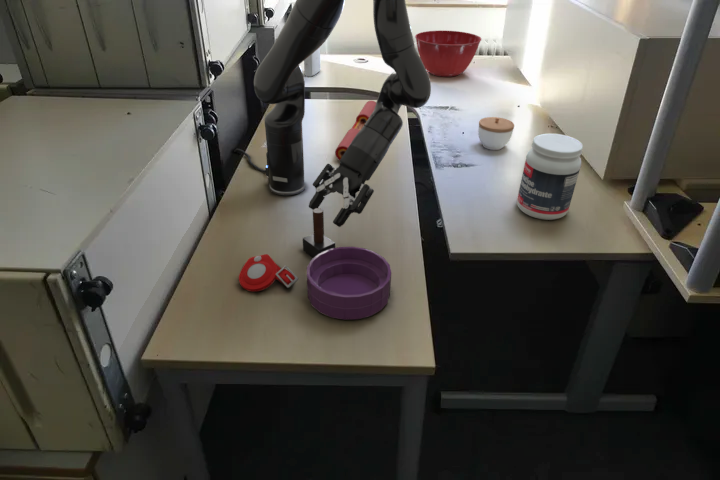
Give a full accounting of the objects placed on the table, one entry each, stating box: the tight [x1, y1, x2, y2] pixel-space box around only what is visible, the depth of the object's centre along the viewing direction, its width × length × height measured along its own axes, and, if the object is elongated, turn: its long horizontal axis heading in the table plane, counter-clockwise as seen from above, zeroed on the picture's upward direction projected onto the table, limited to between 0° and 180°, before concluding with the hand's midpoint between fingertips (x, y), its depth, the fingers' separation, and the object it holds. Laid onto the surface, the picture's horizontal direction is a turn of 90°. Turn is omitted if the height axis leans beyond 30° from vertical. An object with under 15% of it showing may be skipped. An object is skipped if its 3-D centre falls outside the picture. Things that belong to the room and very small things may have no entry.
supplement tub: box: [516, 132, 584, 221], centre depth 130 cm, size 13×13×18 cm
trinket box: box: [477, 116, 515, 151], centre depth 166 cm, size 11×11×9 cm
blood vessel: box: [334, 100, 377, 161], centre depth 172 cm, size 42×5×5 cm, turn 167°
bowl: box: [306, 246, 392, 320], centre depth 104 cm, size 16×16×6 cm
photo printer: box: [303, 46, 321, 77], centre depth 228 cm, size 10×4×12 cm, turn 160°
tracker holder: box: [238, 253, 299, 293], centre depth 108 cm, size 12×4×10 cm
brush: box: [302, 207, 336, 259], centre depth 114 cm, size 6×4×11 cm
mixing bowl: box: [414, 30, 482, 78], centre depth 233 cm, size 28×28×16 cm
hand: (323, 216), depth 113 cm, fingers open, 8 cm apart
